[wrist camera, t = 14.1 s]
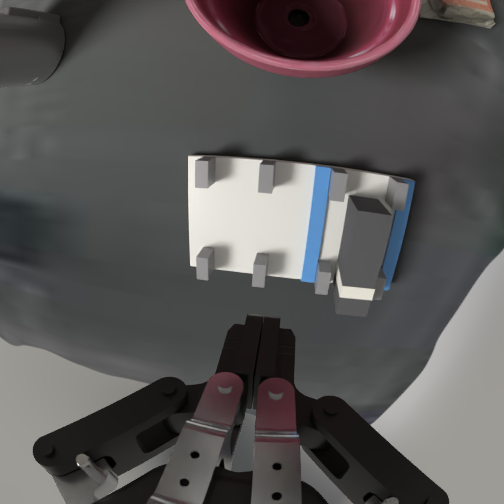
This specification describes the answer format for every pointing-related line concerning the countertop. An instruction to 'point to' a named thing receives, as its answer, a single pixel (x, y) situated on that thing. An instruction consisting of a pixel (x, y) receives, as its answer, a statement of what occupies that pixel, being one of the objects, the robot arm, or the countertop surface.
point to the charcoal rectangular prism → (360, 255)
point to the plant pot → (308, 32)
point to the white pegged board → (284, 217)
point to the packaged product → (459, 11)
